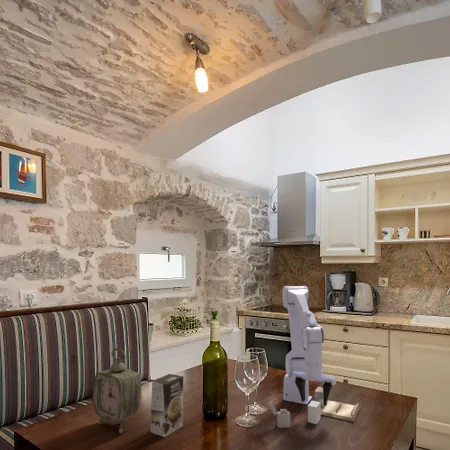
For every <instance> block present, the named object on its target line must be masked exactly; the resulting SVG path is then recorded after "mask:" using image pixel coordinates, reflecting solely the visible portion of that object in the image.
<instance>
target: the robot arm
mask: <svg viewBox="0 0 450 450" xmlns="http://www.w3.org/2000/svg"><path fill="white" fill-rule="evenodd" d="M281 295H282V304H283V308H285V309H287V313H288V321H289V333H290V344H291V345H290V346H291V350H290V351H289V352H288V353H287V354H286V355H285V364H284V365H285V372H286V374H285V375H284V376H283V377H284V378H283V399H282V400H283V401H288V402H291V403H292V402H293V403H296V404H297V403H298V404H302V405H308V404H309V403H310V402H311V401H312V398H313V396H311V395H310V393H309V391H310V390H309V389H310V387H309V385H310V384H309V381H312V382H318V383H323V384H322V387H323V394H324V401H323V404H324V406H326V405H327V401H328V400H329V397H330V396H329V395H330V393H331V390H332V387H333V386H335V385H336V384H337V383H336V382H337V379H336V377H333V376H329V375H327V374H323V354H322V353H323V352H322V350H323V348H322V344H324V342H325V332H324V328H323V327H322V326H321V325H320V324H318V322H317V320H316V317H315V315H314V313H313V312H312V311H310V308H309V306H308V300H309V295H310V293H309V288H308V287H307V285H300V286H299V285H298V286H297V285H294V286H292V285H284V286H283V287H282V292H281Z"/></svg>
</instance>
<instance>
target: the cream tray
mask: <svg viewBox="0 0 450 450" xmlns="http://www.w3.org/2000/svg"><path fill="white" fill-rule="evenodd" d="M314 401H317V402H320V408H321V416H325V417H330V418H334V419H340V420H344V421H349V422H355V420H356V418H357V415H358V413H359V410H360V404H359V403H358V402H357V403H356V404H349V403H343V402H341V401H340V402H339V401H334V400H333V401H332V400H329V399H328V401H327V405H326V406H324V404H323V401H324V394H323V386H317V387H316V389H315V391H314Z"/></svg>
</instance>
